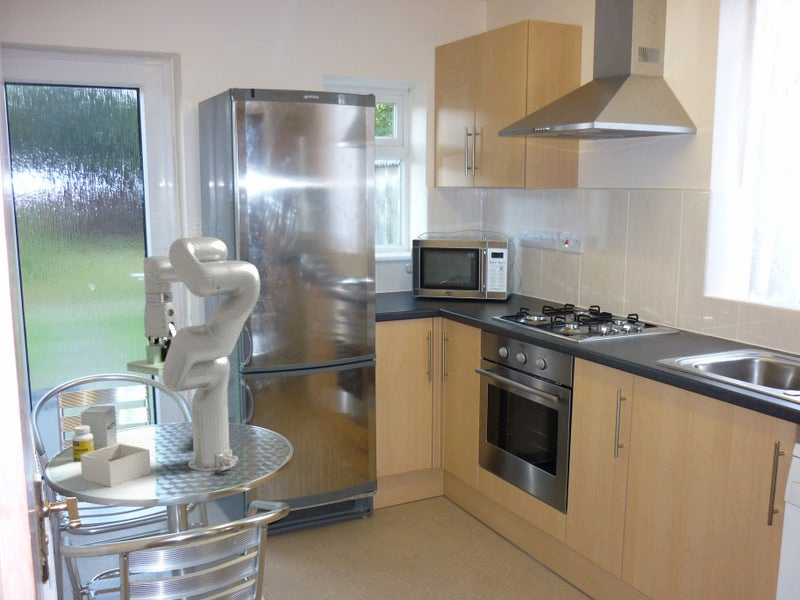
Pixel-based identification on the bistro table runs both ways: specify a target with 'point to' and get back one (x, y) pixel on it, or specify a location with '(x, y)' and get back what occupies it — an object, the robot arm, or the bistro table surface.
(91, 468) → the storage box
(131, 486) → the bistro table surface
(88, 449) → the supplement bottle
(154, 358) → the lid
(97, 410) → the supplement box
